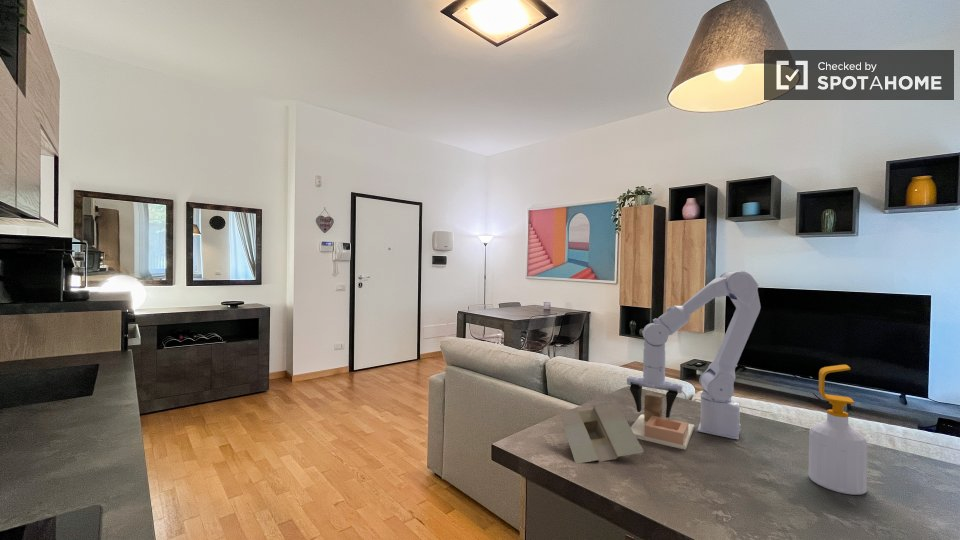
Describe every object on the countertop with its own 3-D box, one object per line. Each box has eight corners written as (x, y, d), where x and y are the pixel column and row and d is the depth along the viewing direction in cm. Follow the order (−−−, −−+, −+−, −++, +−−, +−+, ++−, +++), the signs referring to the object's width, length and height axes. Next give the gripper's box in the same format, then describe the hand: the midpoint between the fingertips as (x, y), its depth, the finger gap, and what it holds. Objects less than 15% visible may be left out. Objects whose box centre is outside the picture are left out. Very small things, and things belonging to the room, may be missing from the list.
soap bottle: (872, 501, 78) (874, 372, 78) (811, 487, 83) (813, 365, 83) (860, 481, 86) (862, 364, 86) (805, 469, 91) (807, 358, 91)
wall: (639, 468, 98) (616, 411, 109) (646, 452, 92) (621, 393, 103) (572, 479, 97) (555, 421, 108) (575, 464, 91) (557, 403, 103)
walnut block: (662, 420, 117) (662, 395, 117) (659, 424, 114) (659, 398, 114) (647, 417, 119) (647, 392, 119) (644, 421, 116) (644, 396, 116)
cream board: (694, 428, 114) (694, 424, 114) (685, 449, 100) (685, 445, 100) (641, 417, 121) (641, 414, 121) (626, 436, 107) (626, 432, 107)
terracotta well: (688, 433, 107) (688, 422, 107) (683, 445, 100) (683, 433, 100) (651, 425, 112) (651, 415, 112) (644, 436, 105) (644, 425, 105)
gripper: (624, 364, 117) (623, 412, 117) (680, 372, 109) (679, 423, 109) (630, 360, 123) (629, 405, 123) (683, 367, 115) (683, 416, 115)
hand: (653, 413), depth 116 cm, fingers open, 7 cm apart
